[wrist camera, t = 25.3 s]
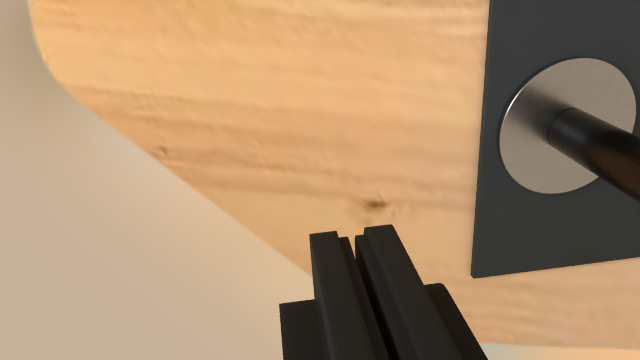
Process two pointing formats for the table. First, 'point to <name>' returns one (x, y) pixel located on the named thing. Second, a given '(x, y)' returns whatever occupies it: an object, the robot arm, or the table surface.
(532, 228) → the mat
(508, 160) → the black rod on disc
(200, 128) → the table surface
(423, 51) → the table surface
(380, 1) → the table surface
